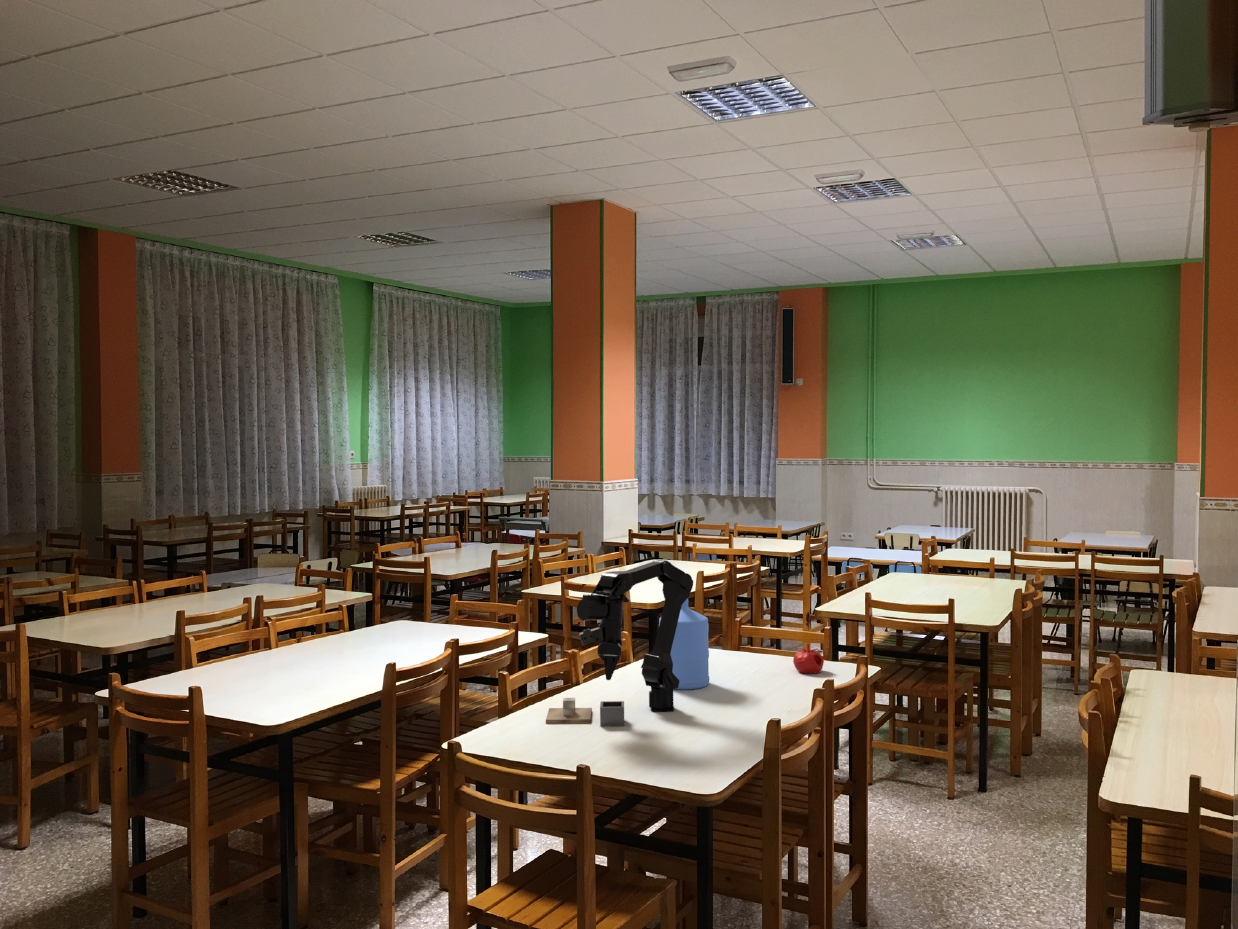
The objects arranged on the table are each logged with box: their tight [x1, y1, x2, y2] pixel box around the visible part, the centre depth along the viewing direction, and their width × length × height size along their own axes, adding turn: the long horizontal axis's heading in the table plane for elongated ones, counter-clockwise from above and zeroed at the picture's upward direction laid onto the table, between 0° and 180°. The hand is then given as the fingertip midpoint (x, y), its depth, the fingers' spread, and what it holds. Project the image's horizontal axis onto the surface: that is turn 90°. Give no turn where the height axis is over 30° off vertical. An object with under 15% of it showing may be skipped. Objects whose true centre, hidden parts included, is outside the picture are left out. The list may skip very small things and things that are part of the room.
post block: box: [545, 697, 593, 724], centre depth 269 cm, size 12×12×5 cm
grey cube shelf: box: [599, 700, 625, 727], centre depth 263 cm, size 6×6×5 cm
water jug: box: [658, 597, 710, 691], centre depth 305 cm, size 16×16×28 cm
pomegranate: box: [792, 643, 825, 674], centre depth 321 cm, size 10×10×9 cm
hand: (608, 677), depth 263 cm, fingers open, 9 cm apart
